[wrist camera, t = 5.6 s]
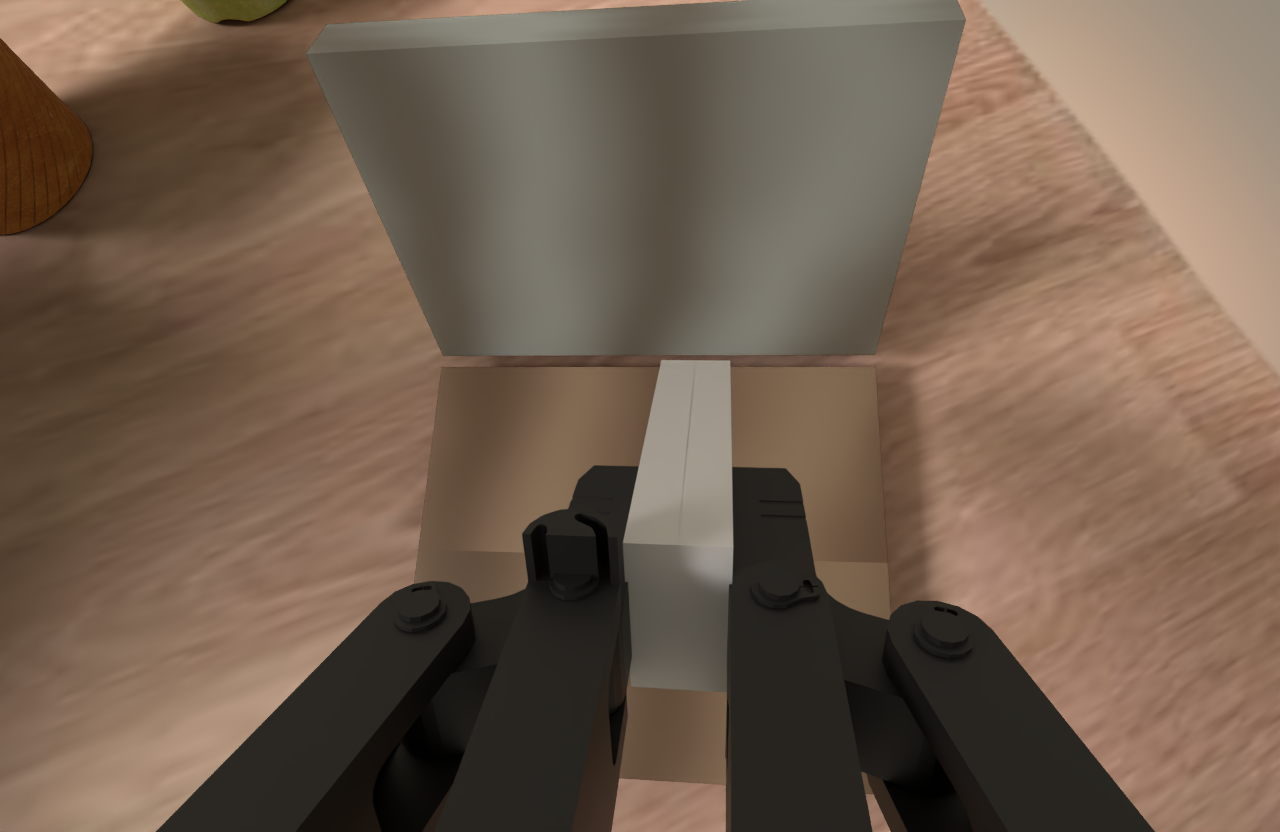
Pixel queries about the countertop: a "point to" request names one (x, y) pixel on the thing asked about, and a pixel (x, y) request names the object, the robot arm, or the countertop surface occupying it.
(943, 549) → the countertop surface
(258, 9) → the plant pot
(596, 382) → the floorboard
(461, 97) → the grey flat slab
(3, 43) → the disposable coffee cup
